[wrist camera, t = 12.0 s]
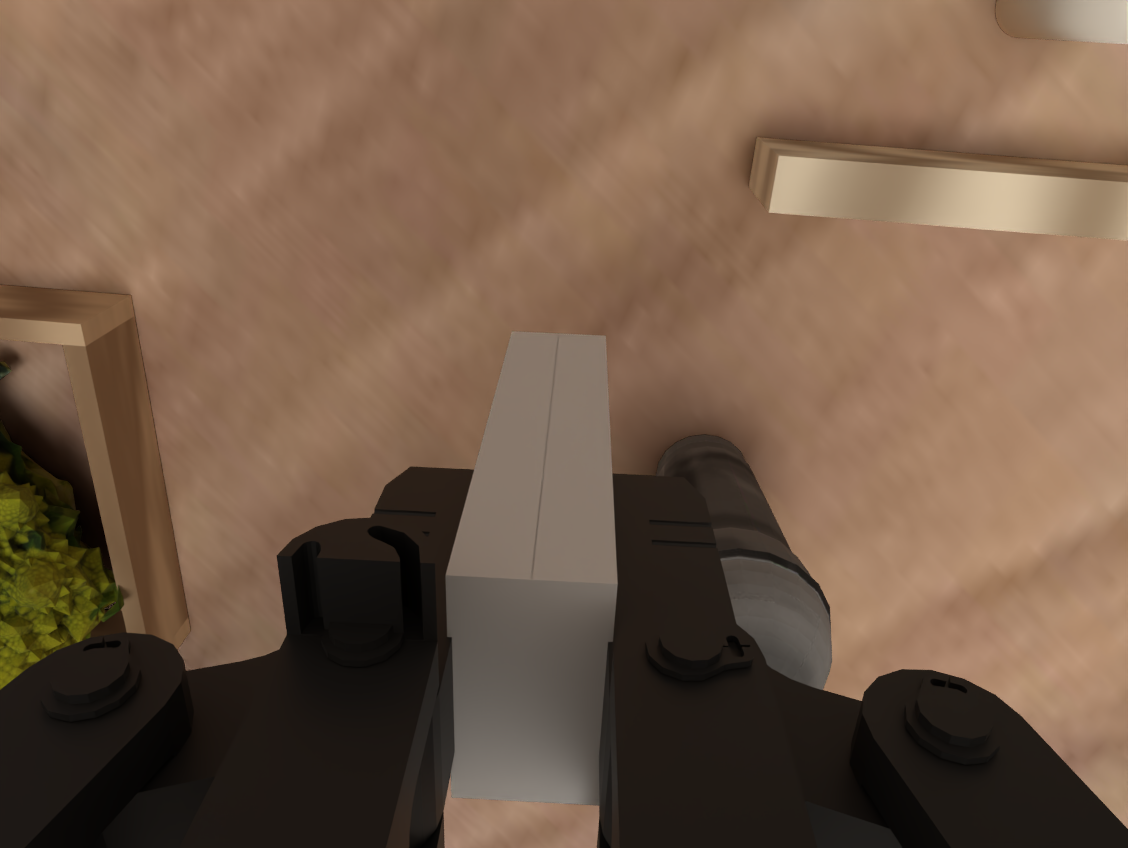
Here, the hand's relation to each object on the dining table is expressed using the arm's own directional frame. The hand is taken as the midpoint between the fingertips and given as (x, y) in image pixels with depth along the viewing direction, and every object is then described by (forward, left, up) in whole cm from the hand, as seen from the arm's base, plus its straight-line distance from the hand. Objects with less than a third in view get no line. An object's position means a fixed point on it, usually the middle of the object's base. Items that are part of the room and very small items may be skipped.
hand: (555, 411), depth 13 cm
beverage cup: (+7, -14, -24) cm, 28 cm away
